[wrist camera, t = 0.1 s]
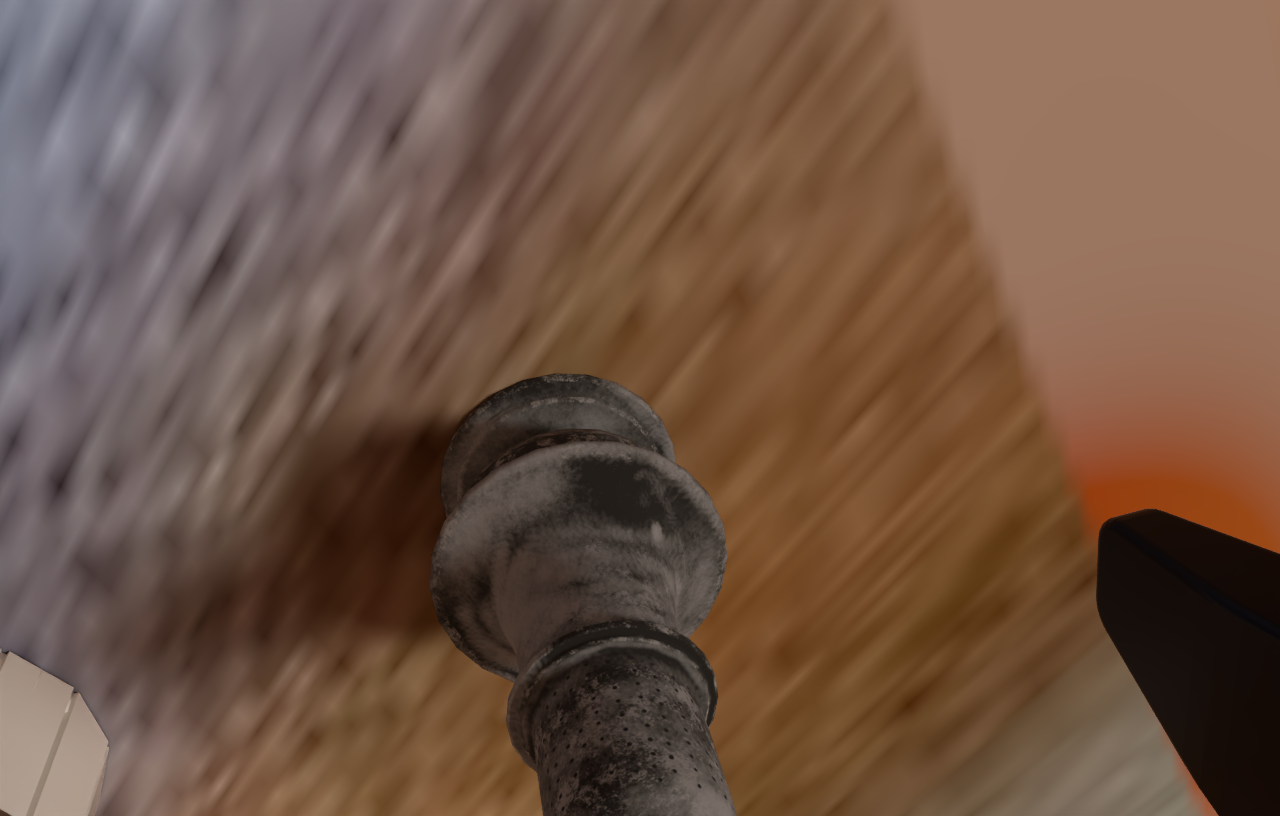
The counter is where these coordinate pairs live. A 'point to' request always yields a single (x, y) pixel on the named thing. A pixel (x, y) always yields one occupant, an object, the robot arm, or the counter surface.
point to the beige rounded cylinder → (4, 813)
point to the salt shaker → (586, 594)
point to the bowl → (47, 745)
